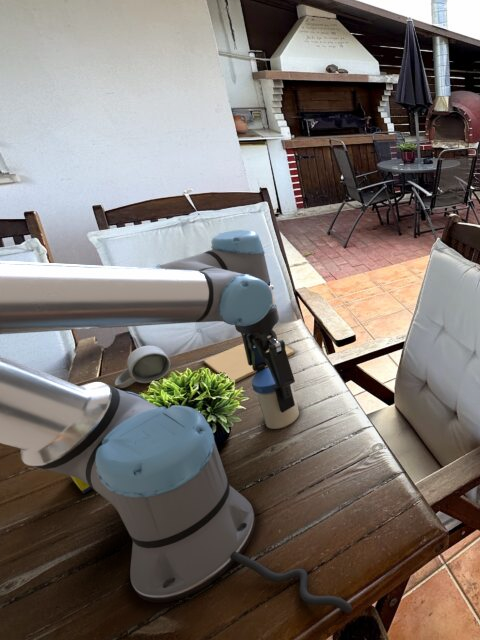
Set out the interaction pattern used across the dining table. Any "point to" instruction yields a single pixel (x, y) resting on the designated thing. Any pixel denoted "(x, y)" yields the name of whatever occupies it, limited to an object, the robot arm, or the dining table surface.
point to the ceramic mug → (144, 366)
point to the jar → (277, 410)
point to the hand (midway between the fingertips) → (278, 400)
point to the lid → (263, 382)
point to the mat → (235, 362)
